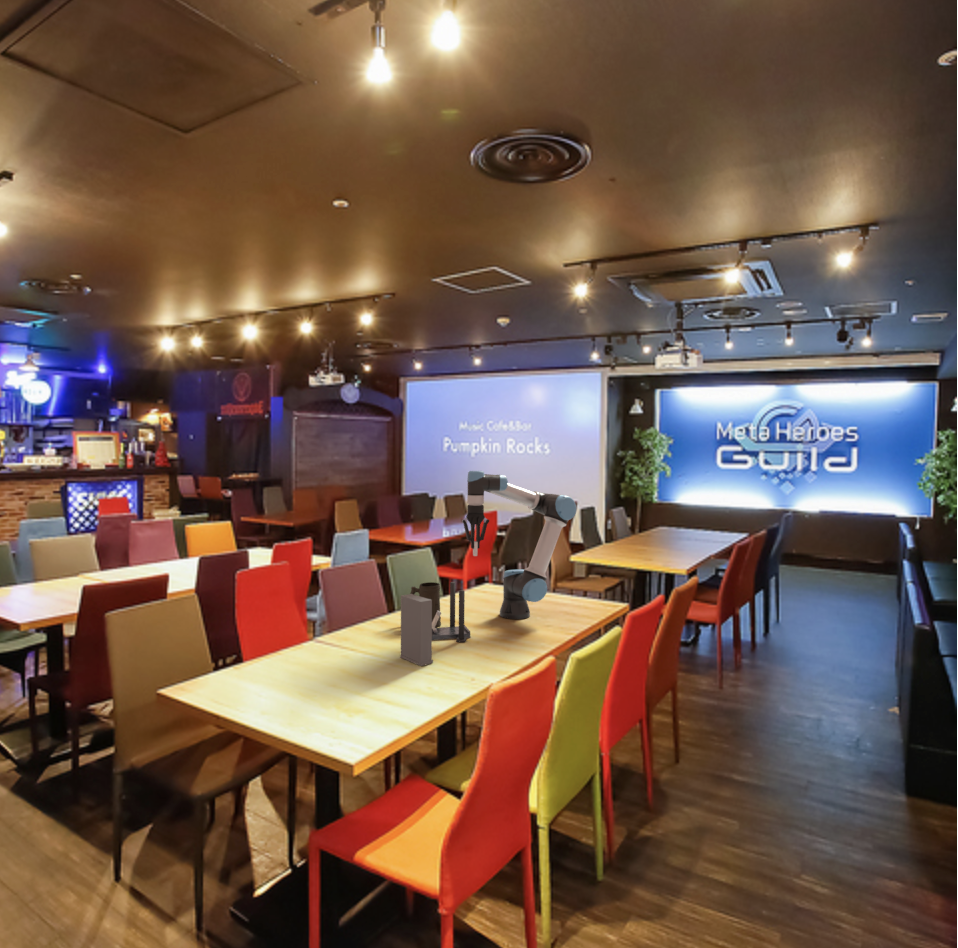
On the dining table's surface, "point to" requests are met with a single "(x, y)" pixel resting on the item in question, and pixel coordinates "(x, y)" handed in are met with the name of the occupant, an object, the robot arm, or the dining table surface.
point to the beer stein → (430, 596)
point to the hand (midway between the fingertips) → (475, 555)
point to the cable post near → (461, 617)
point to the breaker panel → (449, 633)
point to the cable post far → (452, 604)
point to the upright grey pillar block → (416, 629)
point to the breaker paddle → (436, 618)
